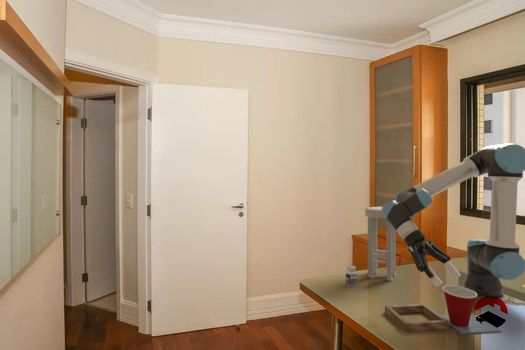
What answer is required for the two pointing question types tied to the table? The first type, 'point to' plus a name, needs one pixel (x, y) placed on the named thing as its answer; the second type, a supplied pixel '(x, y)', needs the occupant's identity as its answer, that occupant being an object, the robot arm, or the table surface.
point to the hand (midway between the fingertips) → (449, 281)
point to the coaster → (474, 326)
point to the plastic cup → (459, 304)
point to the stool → (372, 244)
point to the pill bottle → (351, 276)
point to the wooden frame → (418, 325)
